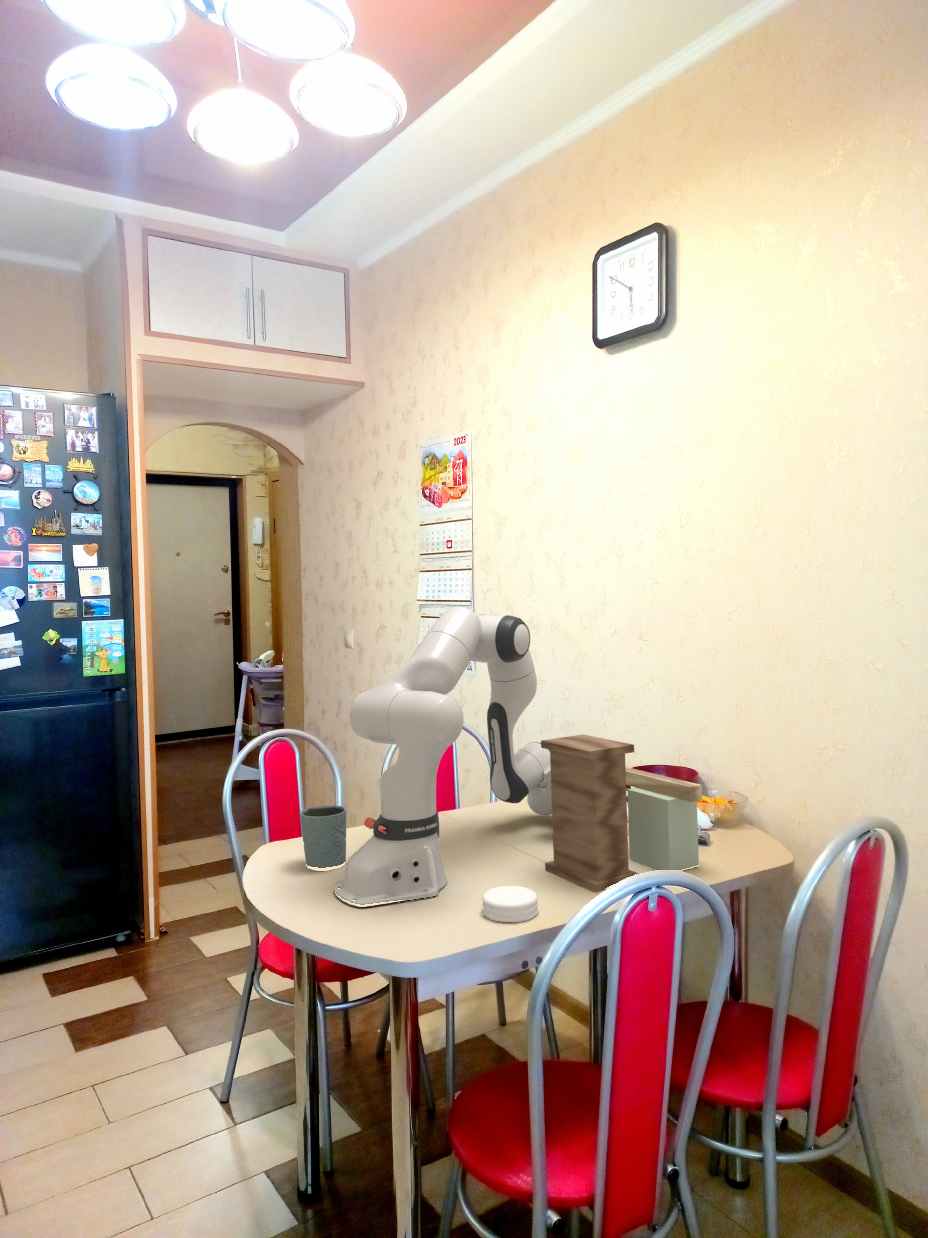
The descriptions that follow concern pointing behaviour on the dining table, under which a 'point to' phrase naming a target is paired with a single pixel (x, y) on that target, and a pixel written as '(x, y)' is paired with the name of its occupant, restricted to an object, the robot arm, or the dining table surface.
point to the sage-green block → (662, 830)
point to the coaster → (510, 904)
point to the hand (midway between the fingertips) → (601, 761)
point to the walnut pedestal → (589, 810)
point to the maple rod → (664, 785)
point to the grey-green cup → (324, 835)
